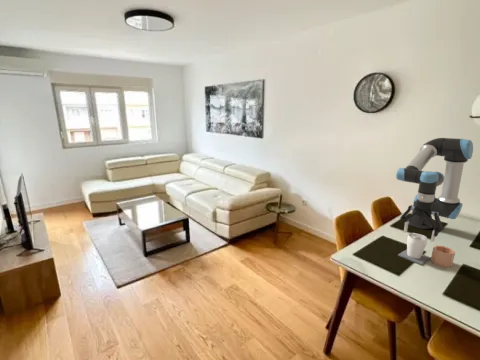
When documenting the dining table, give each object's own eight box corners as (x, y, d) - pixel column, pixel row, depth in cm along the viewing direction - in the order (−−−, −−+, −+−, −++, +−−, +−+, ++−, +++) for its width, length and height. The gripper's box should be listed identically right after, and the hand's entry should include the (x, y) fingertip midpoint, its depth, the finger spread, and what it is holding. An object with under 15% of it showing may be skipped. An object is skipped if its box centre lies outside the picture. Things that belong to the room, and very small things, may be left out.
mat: (407, 249, 156) (407, 248, 156) (430, 258, 147) (430, 257, 146) (397, 255, 150) (398, 254, 149) (421, 265, 140) (421, 264, 140)
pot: (435, 256, 149) (437, 244, 147) (453, 263, 142) (457, 250, 140) (428, 261, 144) (431, 248, 142) (447, 269, 137) (450, 255, 135)
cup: (426, 260, 143) (430, 240, 140) (408, 259, 145) (412, 239, 142) (419, 252, 152) (422, 233, 149) (402, 250, 153) (405, 232, 150)
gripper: (397, 195, 147) (391, 229, 153) (450, 208, 128) (442, 247, 133) (403, 193, 152) (398, 226, 157) (456, 205, 132) (447, 243, 137)
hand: (418, 236), depth 145 cm, fingers open, 13 cm apart
